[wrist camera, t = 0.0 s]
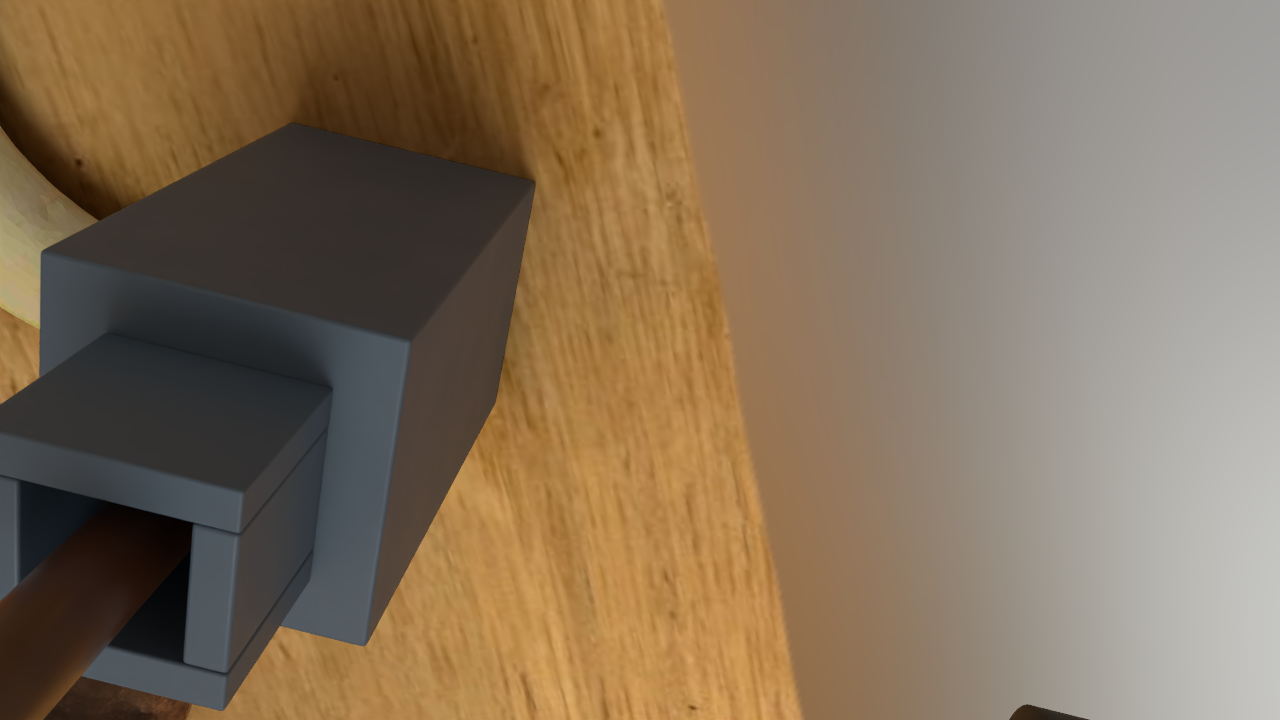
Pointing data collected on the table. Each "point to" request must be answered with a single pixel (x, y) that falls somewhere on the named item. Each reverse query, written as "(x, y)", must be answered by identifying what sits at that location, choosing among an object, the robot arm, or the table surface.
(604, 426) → the table surface
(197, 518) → the holder
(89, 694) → the decorative rock
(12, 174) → the fruit
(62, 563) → the stick
